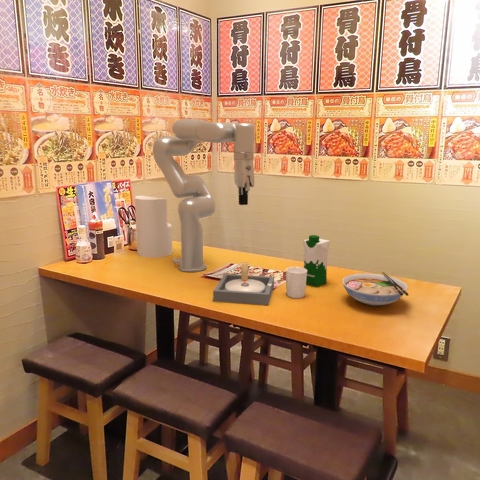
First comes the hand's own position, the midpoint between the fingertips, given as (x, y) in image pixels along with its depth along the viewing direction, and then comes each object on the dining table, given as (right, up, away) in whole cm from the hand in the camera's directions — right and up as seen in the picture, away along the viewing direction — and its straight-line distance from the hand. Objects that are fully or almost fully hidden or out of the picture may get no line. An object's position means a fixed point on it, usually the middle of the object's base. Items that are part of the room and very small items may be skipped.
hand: (243, 204), depth 177 cm
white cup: (+20, -35, -5) cm, 40 cm away
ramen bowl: (+47, -37, -12) cm, 61 cm away
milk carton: (+29, -32, +8) cm, 44 cm away
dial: (+1, -33, -5) cm, 33 cm away
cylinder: (-44, -20, +50) cm, 70 cm away
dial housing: (+1, -34, -4) cm, 34 cm away
